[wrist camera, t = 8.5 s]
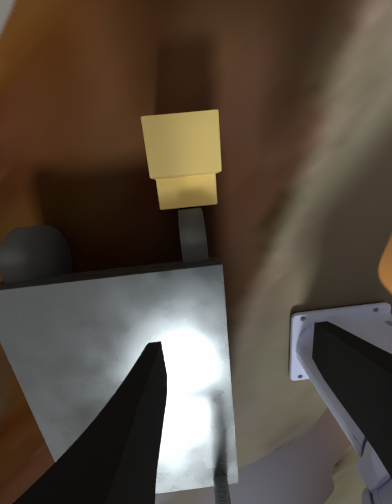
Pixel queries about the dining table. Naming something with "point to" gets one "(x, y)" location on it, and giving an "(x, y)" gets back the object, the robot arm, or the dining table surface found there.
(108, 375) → the trolley
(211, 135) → the yellow cube-like block
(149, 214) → the dining table surface
